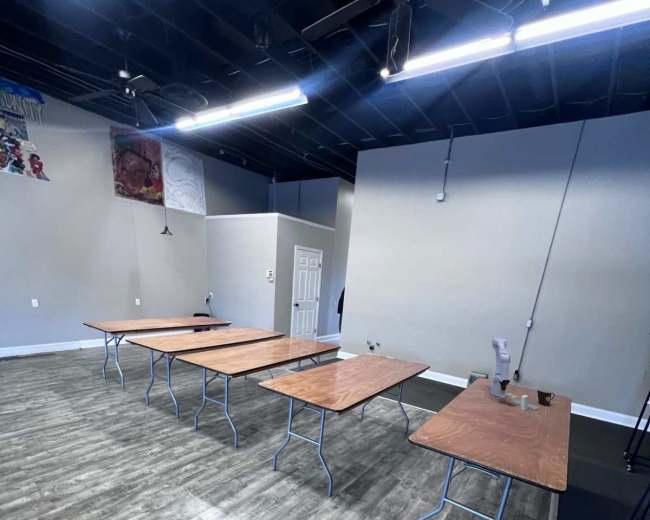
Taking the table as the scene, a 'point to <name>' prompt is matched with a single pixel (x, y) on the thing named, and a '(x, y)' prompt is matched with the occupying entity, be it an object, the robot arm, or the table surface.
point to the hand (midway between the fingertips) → (504, 390)
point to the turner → (507, 393)
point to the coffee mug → (544, 397)
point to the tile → (524, 402)
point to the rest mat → (528, 404)
